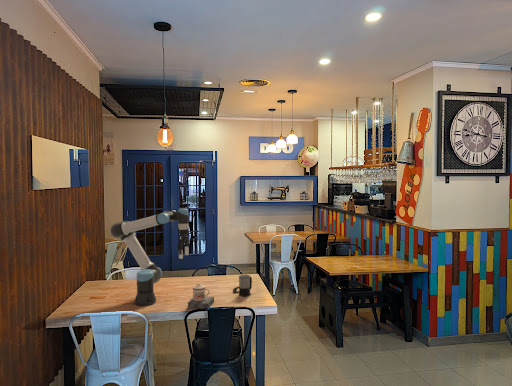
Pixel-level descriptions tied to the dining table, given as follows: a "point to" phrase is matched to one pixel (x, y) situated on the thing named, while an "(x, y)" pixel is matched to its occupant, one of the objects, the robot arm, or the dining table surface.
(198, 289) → the teacup with lid
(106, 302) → the dining table surface
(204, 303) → the grey stand
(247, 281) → the milk frother
